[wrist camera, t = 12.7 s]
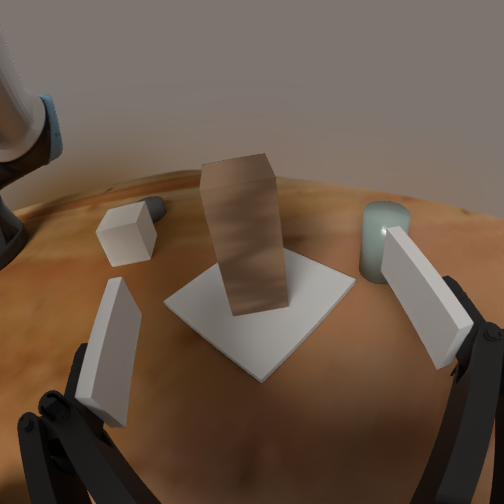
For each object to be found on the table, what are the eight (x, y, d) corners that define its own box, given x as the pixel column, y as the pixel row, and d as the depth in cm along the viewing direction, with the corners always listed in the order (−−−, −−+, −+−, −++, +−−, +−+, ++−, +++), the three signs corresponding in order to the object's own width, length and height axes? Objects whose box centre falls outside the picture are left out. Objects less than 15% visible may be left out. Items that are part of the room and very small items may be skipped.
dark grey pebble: (128, 221, 42) (123, 209, 41) (155, 205, 44) (151, 193, 43) (142, 231, 39) (138, 218, 38) (172, 213, 41) (168, 200, 40)
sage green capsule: (351, 273, 27) (354, 215, 23) (370, 250, 29) (375, 196, 25) (389, 290, 24) (400, 232, 21) (406, 264, 26) (416, 209, 23)
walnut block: (232, 316, 24) (199, 190, 18) (230, 279, 28) (202, 164, 21) (288, 306, 24) (275, 176, 18) (279, 270, 28) (264, 153, 21)
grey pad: (165, 305, 27) (163, 301, 27) (255, 239, 33) (255, 235, 33) (261, 383, 20) (260, 380, 19) (355, 283, 26) (355, 279, 25)
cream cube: (112, 267, 33) (95, 232, 30) (122, 243, 37) (108, 209, 34) (150, 260, 33) (135, 222, 30) (157, 235, 37) (145, 200, 34)
